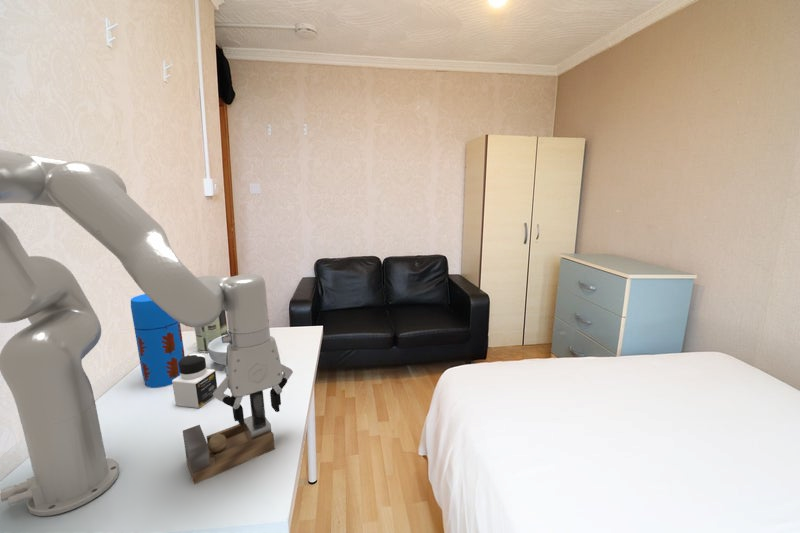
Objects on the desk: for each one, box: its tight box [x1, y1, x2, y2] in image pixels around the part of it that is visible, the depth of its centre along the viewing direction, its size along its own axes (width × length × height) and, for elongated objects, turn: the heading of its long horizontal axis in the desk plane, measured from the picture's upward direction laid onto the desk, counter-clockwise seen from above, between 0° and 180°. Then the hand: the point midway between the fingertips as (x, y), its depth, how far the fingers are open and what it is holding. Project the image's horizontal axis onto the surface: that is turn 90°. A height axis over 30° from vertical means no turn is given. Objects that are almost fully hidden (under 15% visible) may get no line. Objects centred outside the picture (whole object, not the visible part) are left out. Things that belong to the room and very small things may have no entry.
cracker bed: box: [182, 423, 276, 485], centre depth 74 cm, size 15×8×7 cm, turn 128°
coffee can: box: [194, 310, 229, 354], centre depth 128 cm, size 10×10×14 cm
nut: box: [208, 434, 227, 453], centre depth 73 cm, size 3×3×3 cm
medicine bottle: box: [171, 353, 218, 409], centre depth 94 cm, size 7×7×12 cm
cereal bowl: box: [208, 335, 230, 366], centre depth 117 cm, size 17×17×7 cm
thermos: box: [130, 293, 185, 389], centre depth 105 cm, size 11×11×25 cm
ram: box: [244, 390, 273, 440], centre depth 77 cm, size 4×6×10 cm
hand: (258, 414), depth 77 cm, fingers open, 6 cm apart
